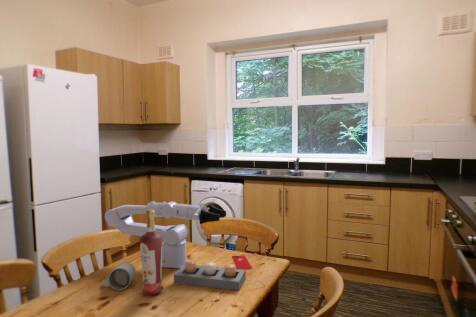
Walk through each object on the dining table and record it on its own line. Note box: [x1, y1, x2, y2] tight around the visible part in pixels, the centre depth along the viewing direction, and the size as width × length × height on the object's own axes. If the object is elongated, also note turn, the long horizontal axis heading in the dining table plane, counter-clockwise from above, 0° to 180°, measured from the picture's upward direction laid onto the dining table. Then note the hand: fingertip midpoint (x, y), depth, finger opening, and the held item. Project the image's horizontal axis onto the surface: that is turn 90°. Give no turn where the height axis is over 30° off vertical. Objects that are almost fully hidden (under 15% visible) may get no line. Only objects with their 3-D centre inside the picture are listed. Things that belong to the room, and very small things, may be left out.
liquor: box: [139, 210, 164, 296], centre depth 110 cm, size 7×7×28 cm
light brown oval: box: [223, 263, 237, 277], centre depth 117 cm, size 4×4×3 cm
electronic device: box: [231, 255, 253, 271], centre depth 136 cm, size 6×1×15 cm
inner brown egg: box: [185, 260, 197, 273], centre depth 121 cm, size 4×4×3 cm
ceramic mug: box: [102, 261, 136, 291], centre depth 116 cm, size 11×8×8 cm
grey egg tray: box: [173, 264, 247, 291], centre depth 119 cm, size 24×10×3 cm, turn 76°
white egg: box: [204, 261, 217, 275], centre depth 119 cm, size 4×4×3 cm
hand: (222, 215), depth 127 cm, fingers open, 7 cm apart
